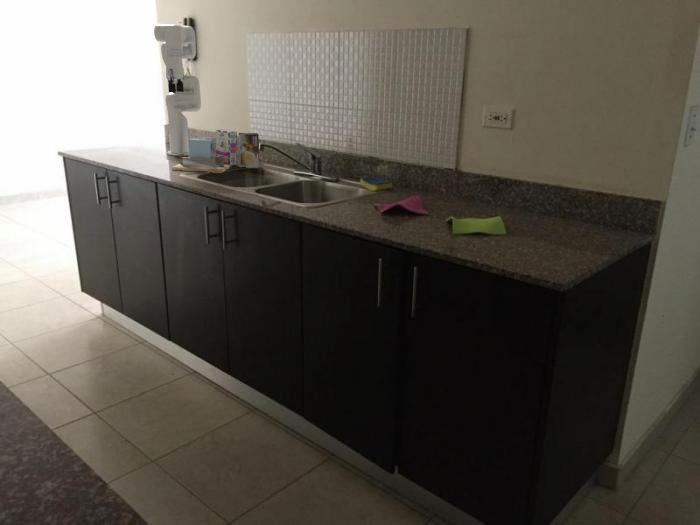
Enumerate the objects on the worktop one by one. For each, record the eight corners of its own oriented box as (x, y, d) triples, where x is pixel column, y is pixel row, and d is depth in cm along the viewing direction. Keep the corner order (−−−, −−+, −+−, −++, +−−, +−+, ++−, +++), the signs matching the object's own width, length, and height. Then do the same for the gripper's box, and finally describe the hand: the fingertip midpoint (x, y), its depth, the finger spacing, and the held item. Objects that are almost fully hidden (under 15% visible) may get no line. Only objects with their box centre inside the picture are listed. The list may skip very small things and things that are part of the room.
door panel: (192, 164, 277) (191, 138, 273) (216, 165, 276) (215, 139, 273) (189, 165, 274) (188, 139, 270) (213, 167, 273) (212, 141, 269)
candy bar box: (237, 165, 288) (237, 131, 283) (229, 166, 285) (228, 132, 279) (224, 162, 295) (223, 129, 290) (215, 163, 292) (214, 129, 287)
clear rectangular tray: (184, 164, 284) (183, 151, 281) (230, 167, 282) (230, 154, 280) (172, 170, 269) (171, 155, 267) (221, 173, 268) (220, 158, 265)
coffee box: (257, 165, 290) (257, 132, 285) (259, 168, 285) (259, 134, 279) (238, 165, 288) (238, 132, 283) (240, 168, 282) (239, 134, 277)
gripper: (173, 53, 279) (175, 91, 285) (158, 52, 263) (161, 92, 268) (189, 54, 279) (190, 91, 284) (175, 53, 262) (177, 93, 268)
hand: (176, 92), depth 276 cm, fingers open, 9 cm apart
